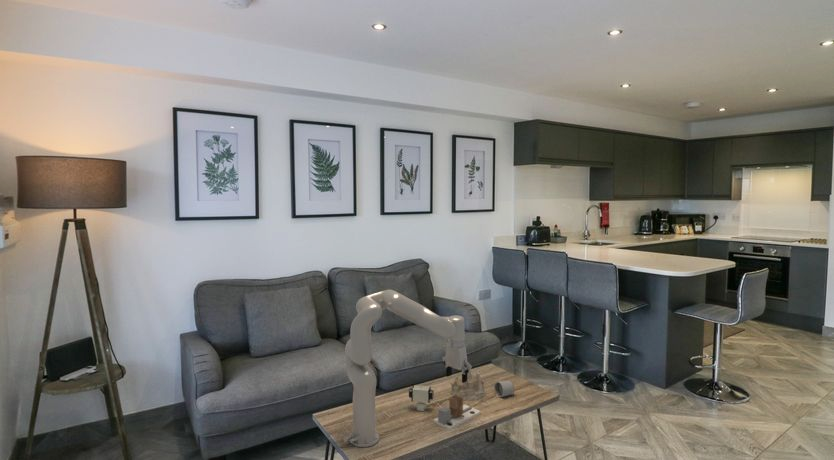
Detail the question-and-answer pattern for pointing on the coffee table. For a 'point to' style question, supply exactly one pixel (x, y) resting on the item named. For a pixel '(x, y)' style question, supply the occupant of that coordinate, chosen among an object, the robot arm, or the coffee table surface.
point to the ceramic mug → (504, 388)
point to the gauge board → (451, 421)
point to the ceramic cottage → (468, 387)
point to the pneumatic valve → (421, 396)
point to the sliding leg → (456, 406)
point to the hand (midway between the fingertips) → (456, 378)
